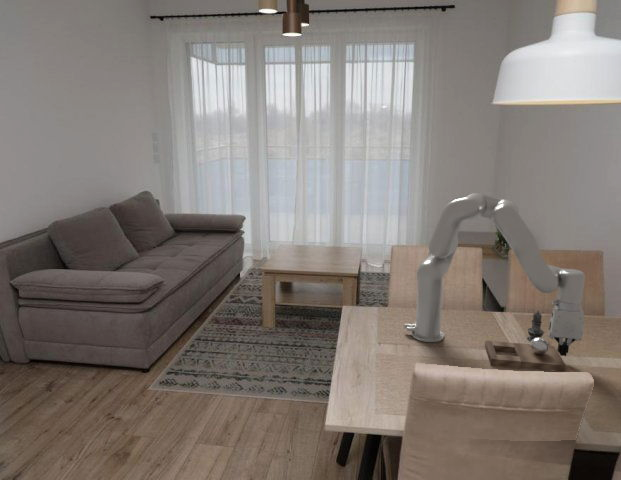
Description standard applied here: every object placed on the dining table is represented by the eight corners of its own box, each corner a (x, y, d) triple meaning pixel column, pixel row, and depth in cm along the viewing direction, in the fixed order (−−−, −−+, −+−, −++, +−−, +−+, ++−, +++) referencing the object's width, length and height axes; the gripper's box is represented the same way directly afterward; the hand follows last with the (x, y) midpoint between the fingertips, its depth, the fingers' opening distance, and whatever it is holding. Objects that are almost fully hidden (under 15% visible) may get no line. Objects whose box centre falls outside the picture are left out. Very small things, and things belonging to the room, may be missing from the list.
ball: (531, 356, 172) (533, 340, 170) (527, 349, 177) (529, 333, 176) (549, 358, 170) (551, 342, 169) (545, 350, 176) (547, 335, 175)
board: (490, 365, 171) (491, 358, 170) (484, 346, 185) (485, 340, 184) (565, 372, 166) (565, 365, 165) (553, 352, 180) (553, 346, 180)
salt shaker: (544, 343, 188) (548, 314, 185) (528, 342, 189) (531, 312, 186) (540, 337, 193) (544, 308, 190) (525, 335, 194) (528, 307, 192)
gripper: (548, 307, 166) (542, 357, 170) (596, 310, 163) (589, 361, 167) (542, 299, 173) (537, 347, 177) (588, 302, 170) (581, 351, 174)
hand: (562, 354), depth 172 cm, fingers closed
